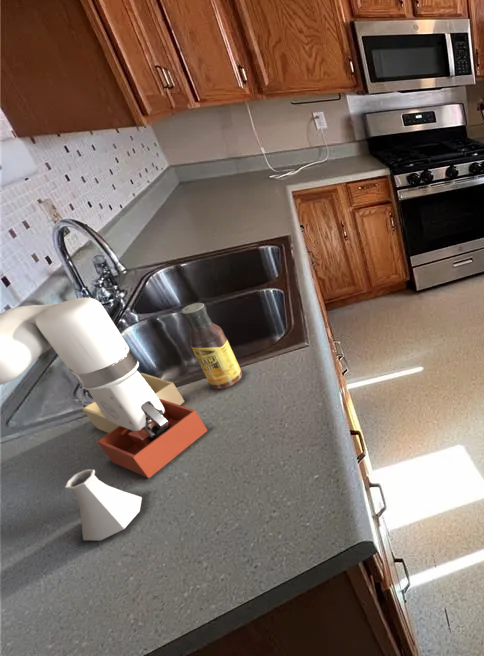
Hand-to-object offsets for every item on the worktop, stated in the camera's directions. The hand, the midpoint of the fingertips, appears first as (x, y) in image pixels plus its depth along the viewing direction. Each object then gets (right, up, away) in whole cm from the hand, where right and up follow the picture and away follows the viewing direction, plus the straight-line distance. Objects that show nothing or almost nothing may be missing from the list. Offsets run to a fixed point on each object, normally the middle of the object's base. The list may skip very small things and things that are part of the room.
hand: (157, 441), depth 78 cm
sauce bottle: (+3, +7, +16) cm, 18 cm away
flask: (+3, -8, -12) cm, 14 cm away
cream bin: (-10, +2, +8) cm, 14 cm away
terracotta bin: (0, -1, +1) cm, 1 cm away
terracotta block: (0, -1, 0) cm, 1 cm away
